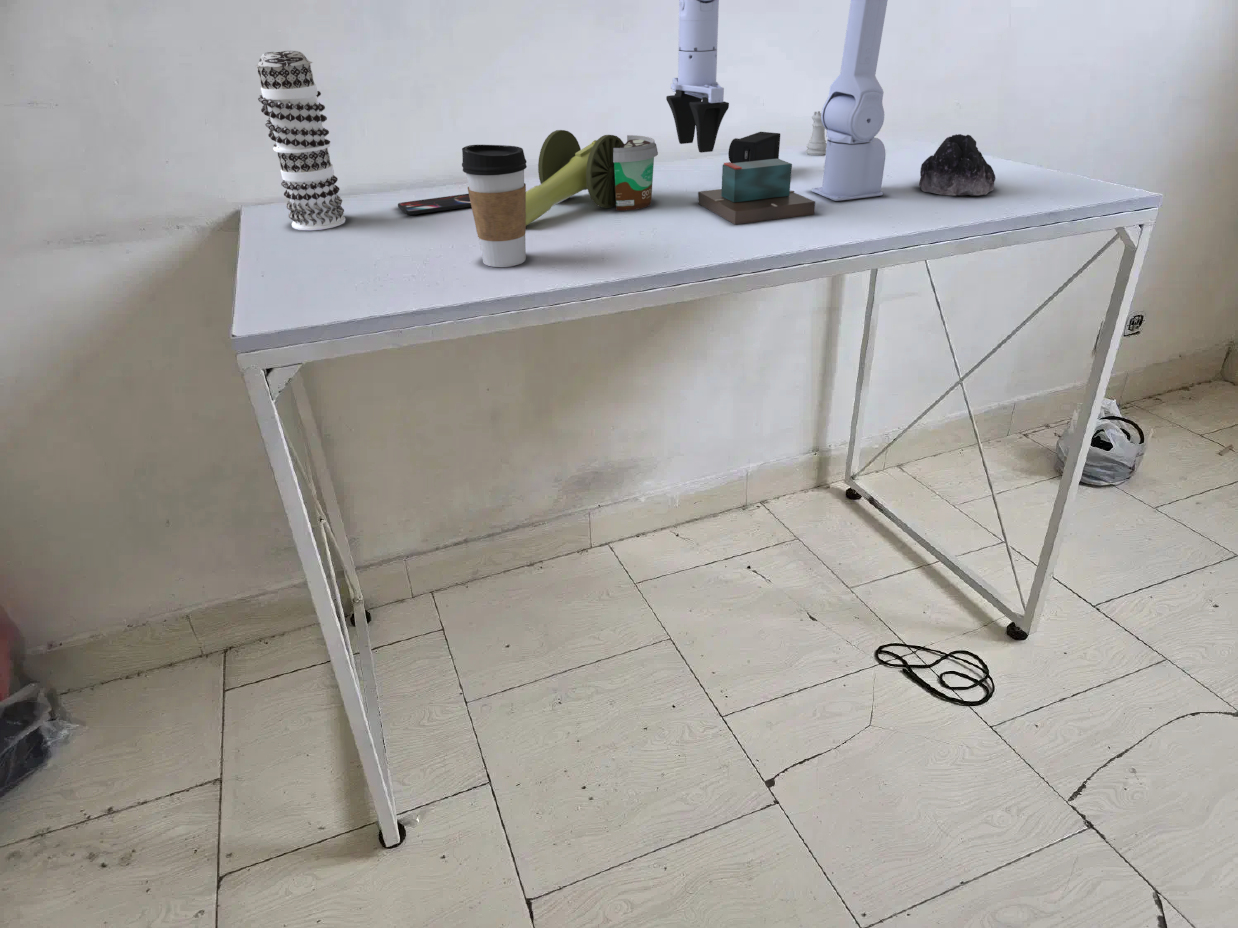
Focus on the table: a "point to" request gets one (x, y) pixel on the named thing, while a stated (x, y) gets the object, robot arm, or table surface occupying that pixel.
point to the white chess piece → (817, 137)
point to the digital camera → (755, 147)
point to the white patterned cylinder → (299, 140)
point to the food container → (634, 172)
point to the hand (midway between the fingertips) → (695, 147)
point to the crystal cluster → (957, 169)
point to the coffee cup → (498, 201)
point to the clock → (756, 207)
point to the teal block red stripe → (756, 180)
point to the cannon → (573, 172)
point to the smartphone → (435, 204)
